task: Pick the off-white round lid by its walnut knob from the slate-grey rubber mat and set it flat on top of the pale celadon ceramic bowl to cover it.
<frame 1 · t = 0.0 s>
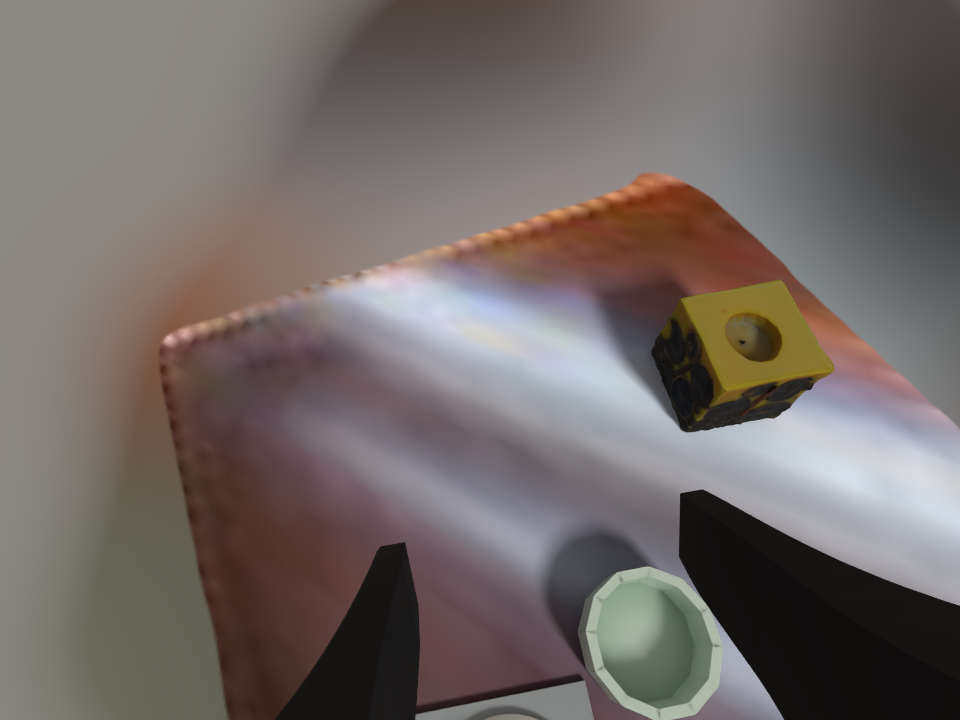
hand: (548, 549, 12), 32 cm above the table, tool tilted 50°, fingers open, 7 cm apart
candle: (709, 383, 51), on the table
bowl: (637, 638, 39), on the table
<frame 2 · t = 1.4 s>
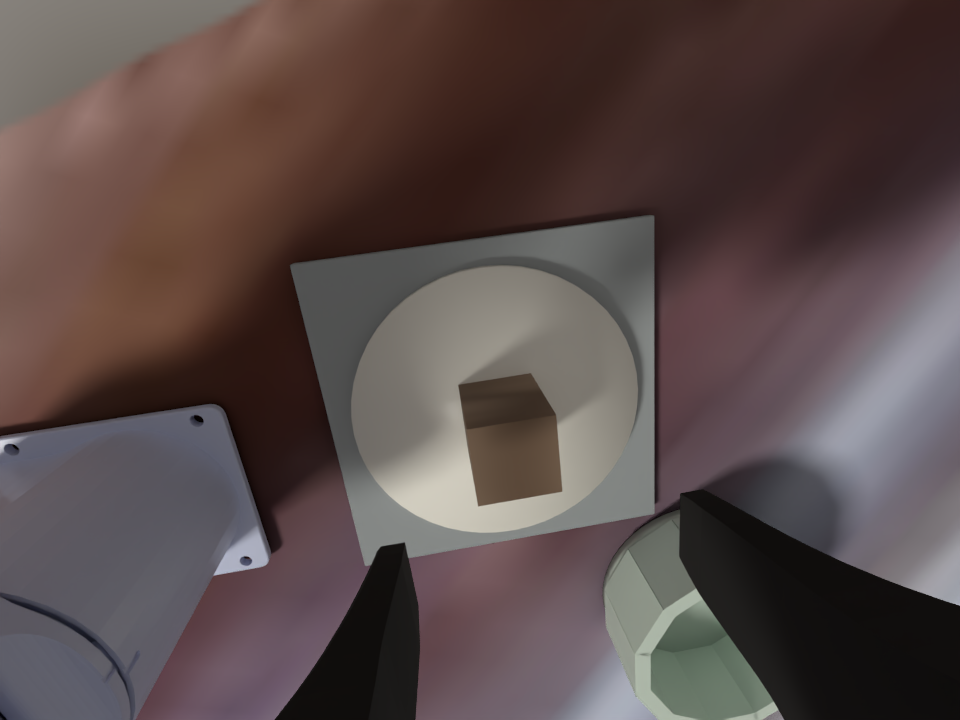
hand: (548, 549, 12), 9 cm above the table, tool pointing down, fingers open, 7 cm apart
lid: (496, 406, 21), resting on mat
mat: (495, 401, 21), on the table
bowl: (686, 579, 26), on the table
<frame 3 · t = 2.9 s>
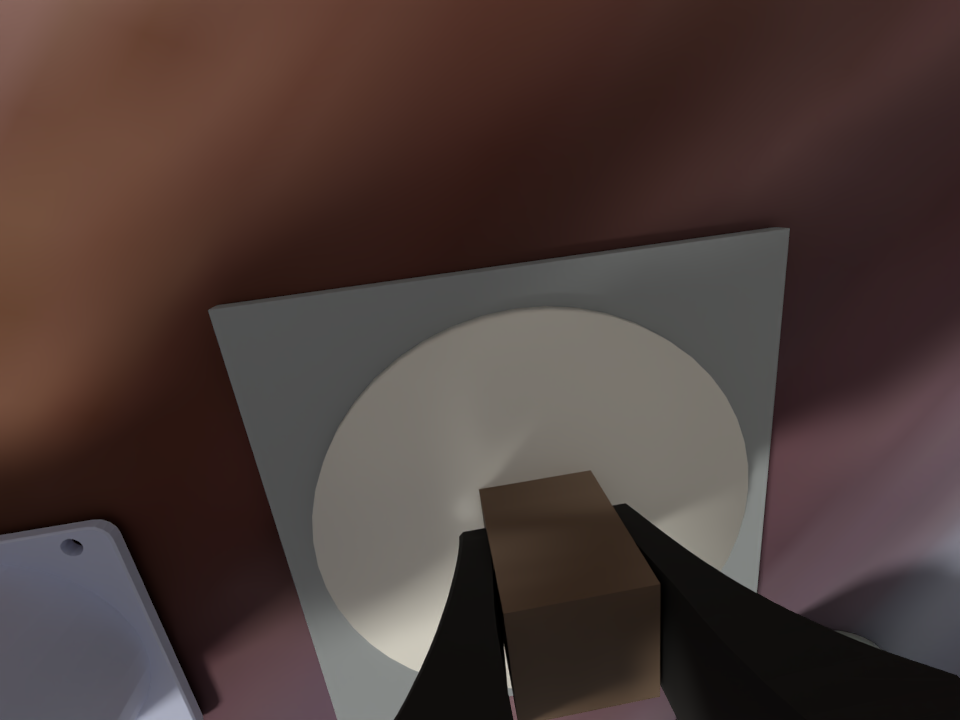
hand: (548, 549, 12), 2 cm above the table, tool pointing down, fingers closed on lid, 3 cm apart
lid: (534, 513, 14), resting on mat, touching gripper
mat: (531, 502, 14), on the table
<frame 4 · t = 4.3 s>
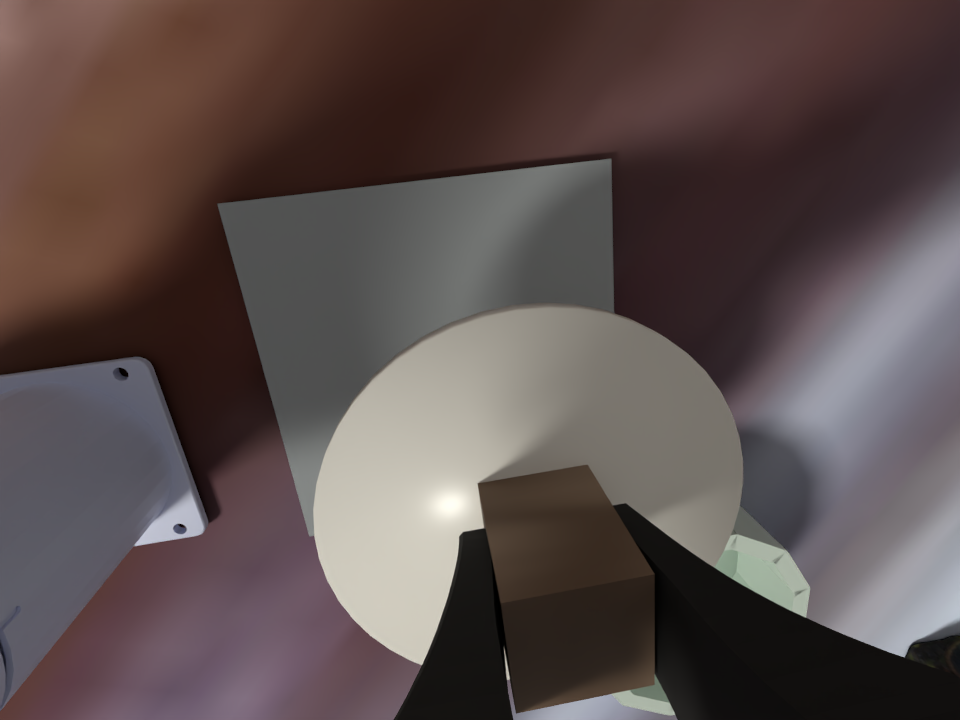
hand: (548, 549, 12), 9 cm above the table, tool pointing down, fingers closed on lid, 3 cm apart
candle: (958, 682, 32), on the table
lid: (532, 506, 14), point 7 cm above the table, touching gripper
mat: (445, 360, 20), on the table
bowl: (652, 556, 25), on the table
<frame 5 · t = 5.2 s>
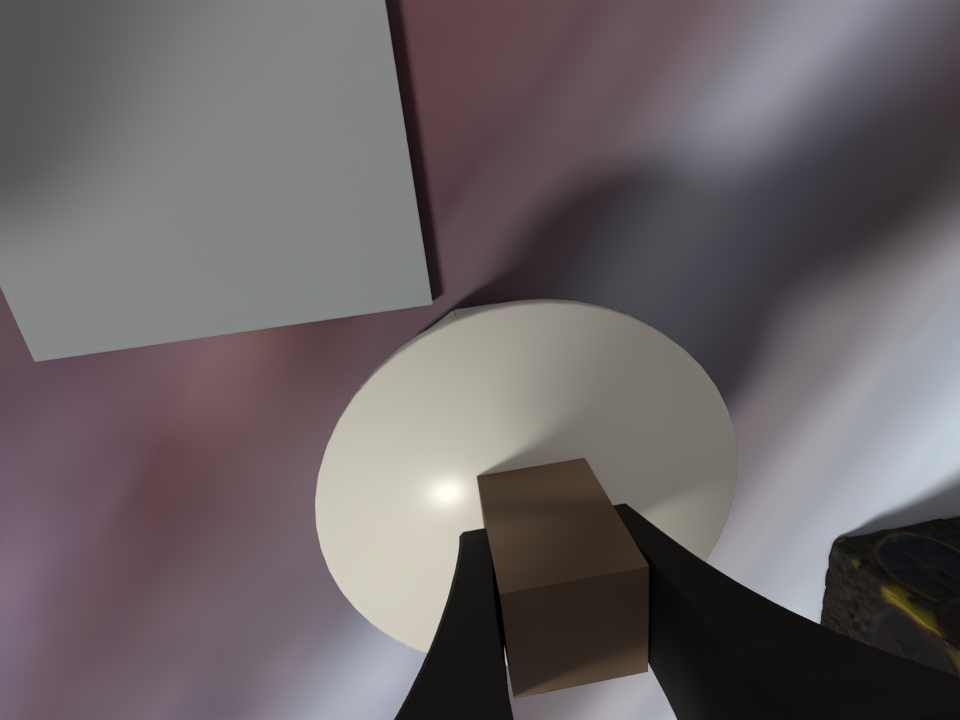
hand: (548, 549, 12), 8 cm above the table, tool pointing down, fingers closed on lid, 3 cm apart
candle: (898, 592, 27), on the table
lid: (530, 498, 14), point 6 cm above the table, touching gripper
mat: (182, 120, 16), on the table
when the fingers open (7 cm above the table, at t = 5.6 s): lid stays where it is, resting on bowl.
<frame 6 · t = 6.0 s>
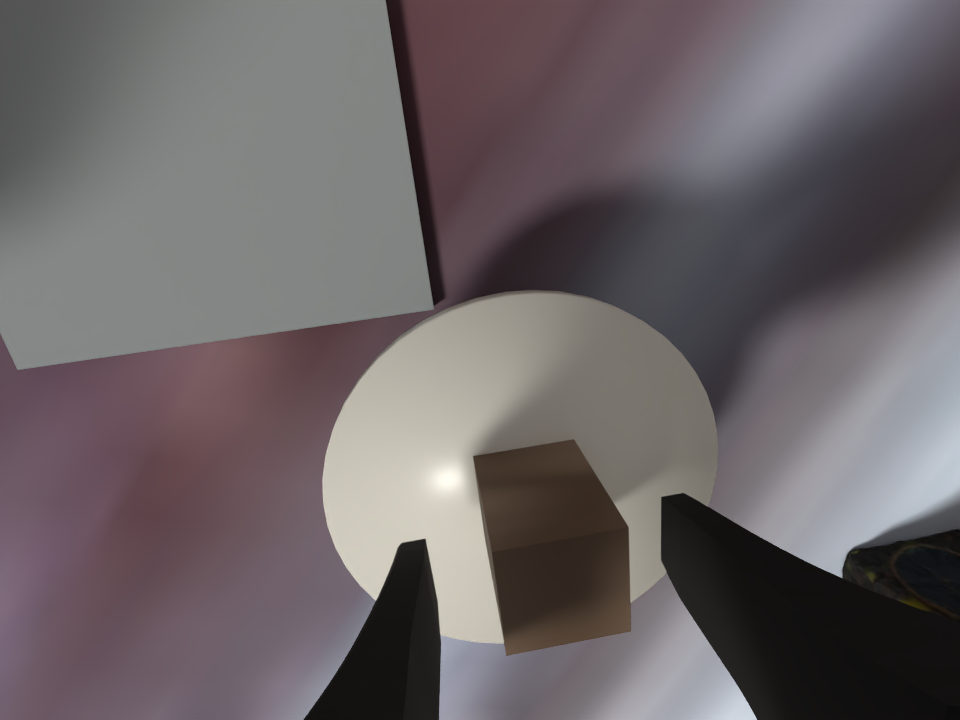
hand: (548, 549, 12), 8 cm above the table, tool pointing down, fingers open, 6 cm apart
candle: (913, 604, 26), on the table
lid: (524, 480, 15), point 4 cm above the table, touching bowl
mat: (171, 116, 15), on the table
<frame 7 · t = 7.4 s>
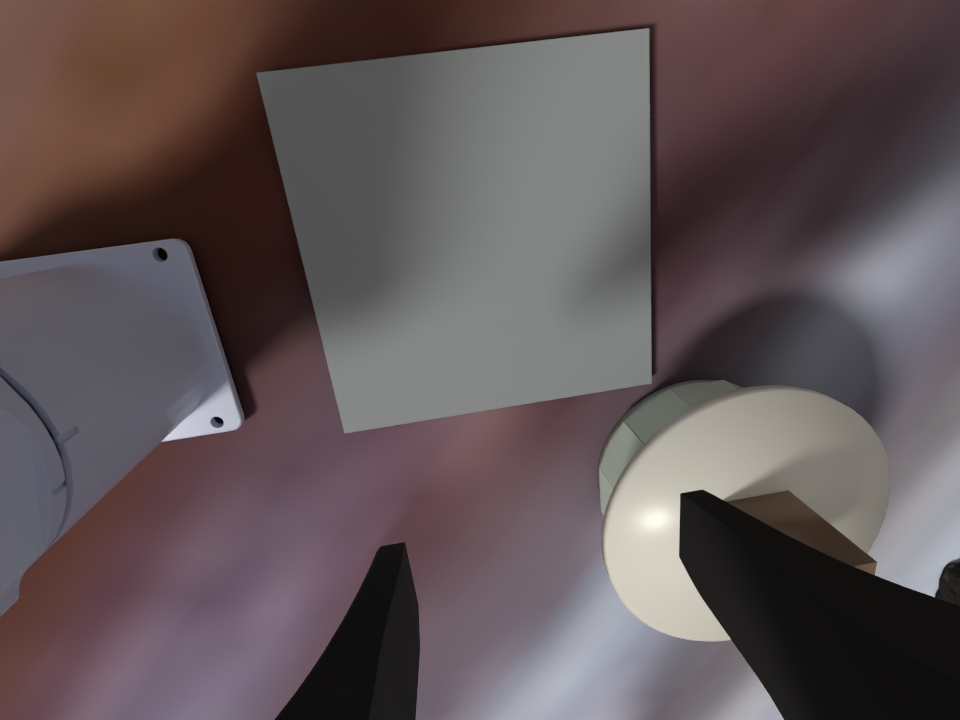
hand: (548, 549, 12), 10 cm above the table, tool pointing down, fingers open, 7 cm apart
lid: (741, 518, 20), point 4 cm above the table, touching bowl
mat: (480, 248, 20), on the table
bowl: (686, 464, 25), on the table
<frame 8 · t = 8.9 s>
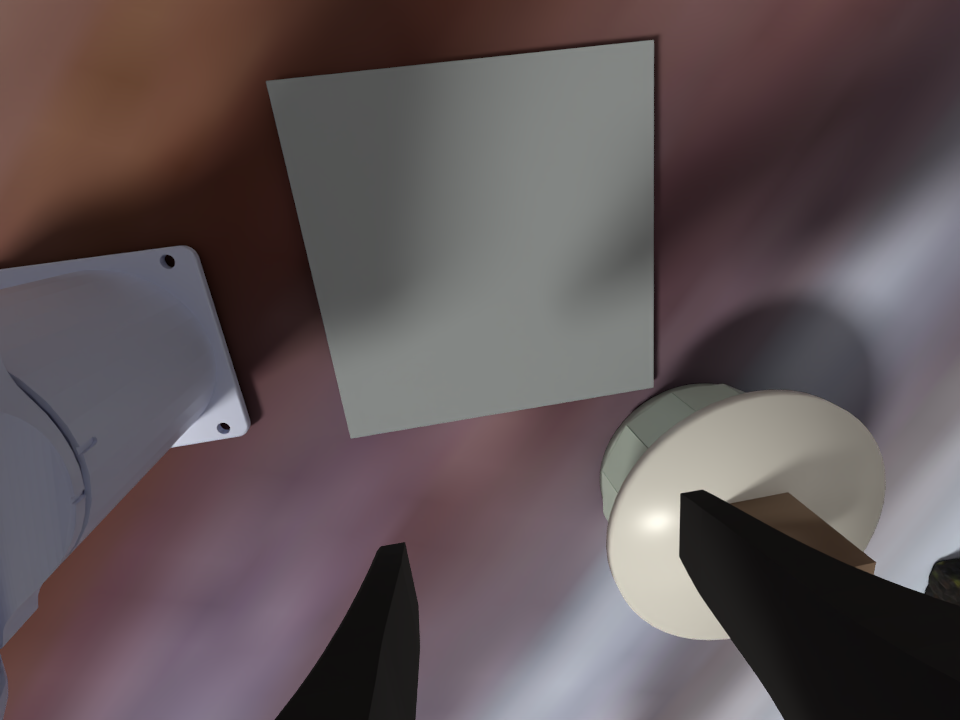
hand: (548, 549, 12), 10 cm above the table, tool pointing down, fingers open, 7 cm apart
lid: (741, 520, 21), point 4 cm above the table, touching bowl
mat: (486, 255, 20), on the table
bowl: (686, 466, 25), on the table
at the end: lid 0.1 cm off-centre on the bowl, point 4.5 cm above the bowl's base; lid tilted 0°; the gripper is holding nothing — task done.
